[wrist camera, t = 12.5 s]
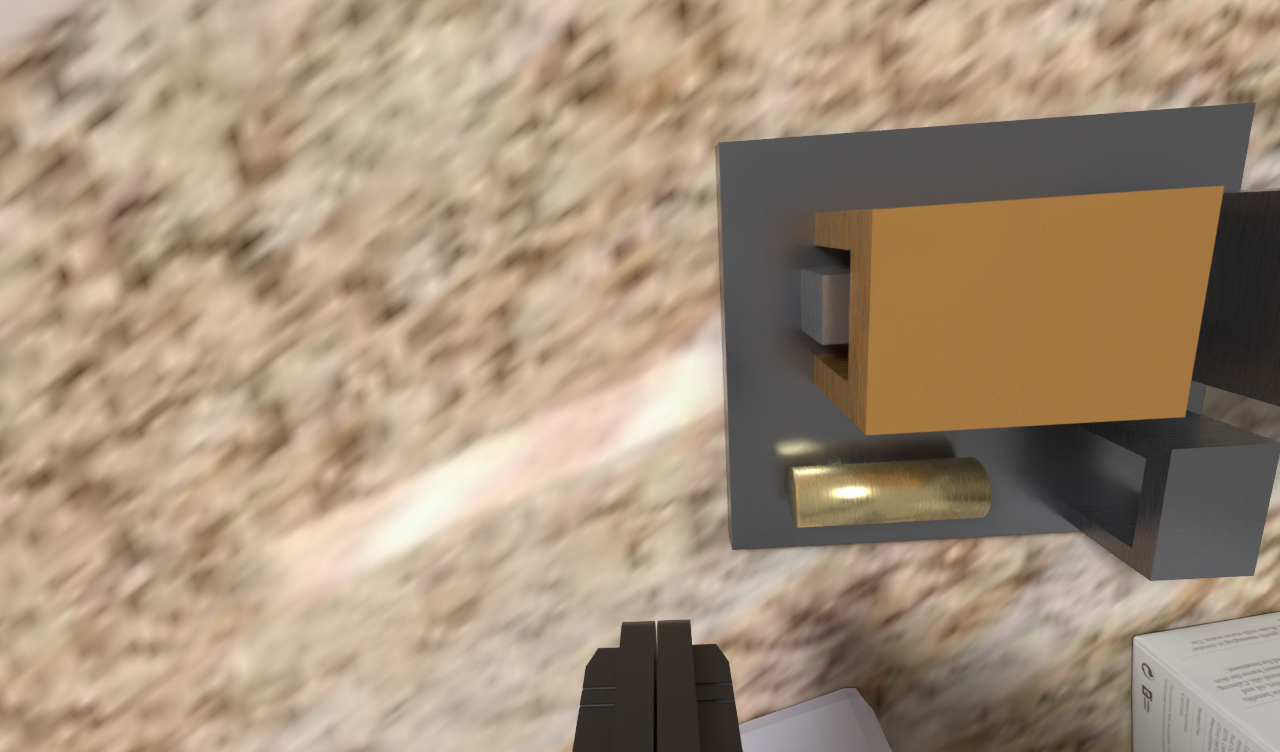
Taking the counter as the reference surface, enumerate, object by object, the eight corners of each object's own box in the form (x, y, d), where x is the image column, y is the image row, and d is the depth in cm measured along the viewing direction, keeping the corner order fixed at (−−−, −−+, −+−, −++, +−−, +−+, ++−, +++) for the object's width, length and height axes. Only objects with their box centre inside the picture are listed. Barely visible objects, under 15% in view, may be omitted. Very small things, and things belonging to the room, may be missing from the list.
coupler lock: (1054, 369, 20) (1185, 417, 15) (813, 383, 20) (865, 435, 15) (1073, 194, 19) (1224, 185, 14) (815, 212, 19) (872, 209, 14)
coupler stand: (1158, 512, 22) (1381, 640, 15) (729, 535, 23) (762, 669, 16) (1224, 108, 19) (1550, 44, 12) (715, 146, 19) (751, 105, 12)
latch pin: (957, 500, 21) (988, 529, 19) (787, 510, 21) (801, 538, 19) (961, 447, 21) (993, 471, 19) (786, 457, 21) (801, 482, 19)
